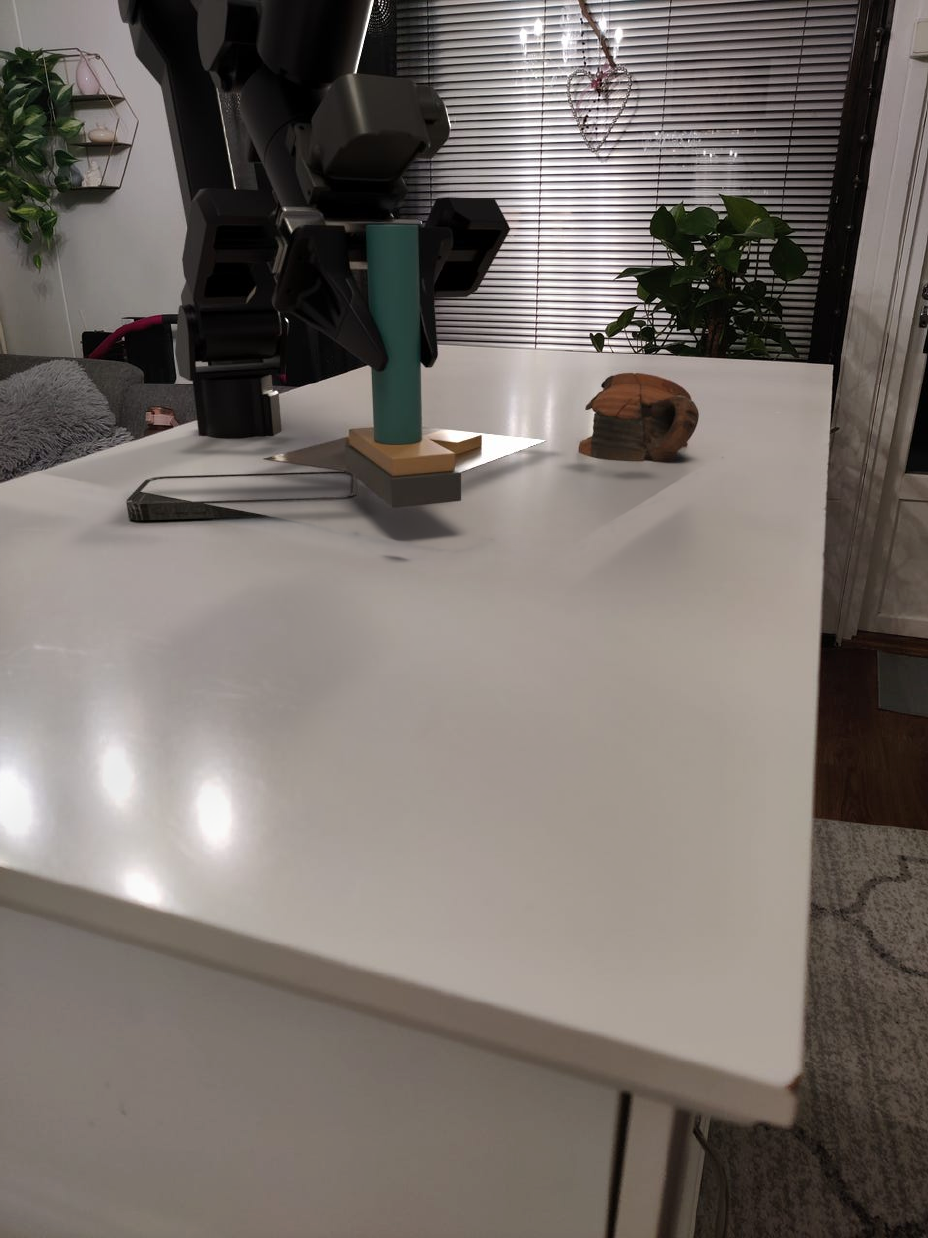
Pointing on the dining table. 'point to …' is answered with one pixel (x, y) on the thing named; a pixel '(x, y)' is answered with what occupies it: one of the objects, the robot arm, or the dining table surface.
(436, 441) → the tan flat wooden slab
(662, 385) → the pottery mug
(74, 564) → the dining table surface
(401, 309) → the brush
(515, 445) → the tray
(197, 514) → the black flat open frame
